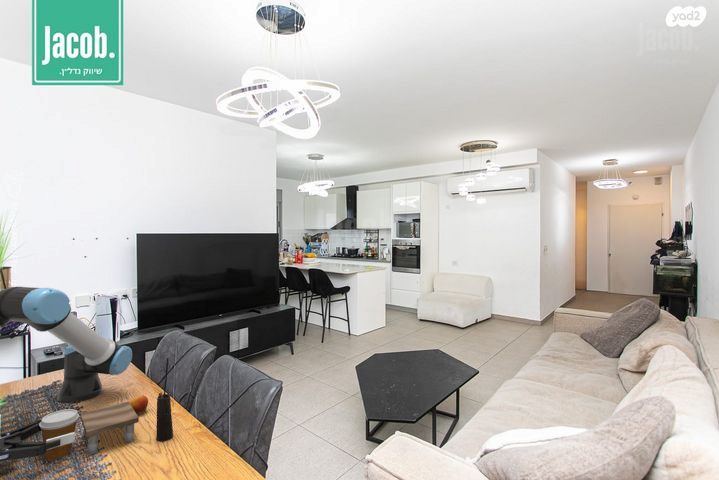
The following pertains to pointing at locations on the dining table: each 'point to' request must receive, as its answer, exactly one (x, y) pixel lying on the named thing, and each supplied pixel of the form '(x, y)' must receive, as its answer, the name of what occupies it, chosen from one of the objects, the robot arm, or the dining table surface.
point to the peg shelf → (108, 423)
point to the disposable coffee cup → (58, 430)
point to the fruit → (139, 403)
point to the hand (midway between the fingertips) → (72, 428)
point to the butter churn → (164, 415)
